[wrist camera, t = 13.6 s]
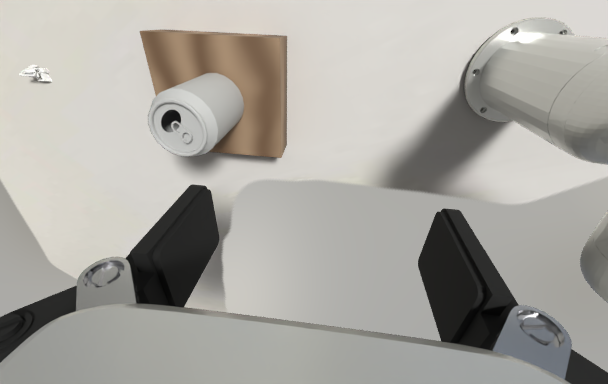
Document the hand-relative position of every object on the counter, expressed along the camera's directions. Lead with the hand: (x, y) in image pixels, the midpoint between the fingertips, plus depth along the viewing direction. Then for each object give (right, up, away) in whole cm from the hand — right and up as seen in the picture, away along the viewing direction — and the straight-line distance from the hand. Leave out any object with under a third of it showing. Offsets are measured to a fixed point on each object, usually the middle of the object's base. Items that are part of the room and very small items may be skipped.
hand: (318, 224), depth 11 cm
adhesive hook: (-43, +20, +34) cm, 58 cm away
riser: (-12, +17, +31) cm, 37 cm away
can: (-12, +14, +27) cm, 33 cm away
